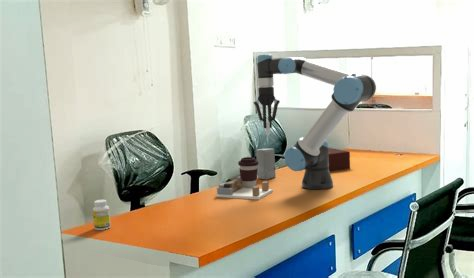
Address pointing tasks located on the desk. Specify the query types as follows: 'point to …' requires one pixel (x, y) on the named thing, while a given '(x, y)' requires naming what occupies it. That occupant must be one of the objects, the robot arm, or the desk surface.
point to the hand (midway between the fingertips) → (267, 134)
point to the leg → (234, 184)
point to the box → (338, 159)
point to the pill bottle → (101, 215)
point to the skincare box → (265, 163)
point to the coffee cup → (248, 171)
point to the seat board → (244, 192)
